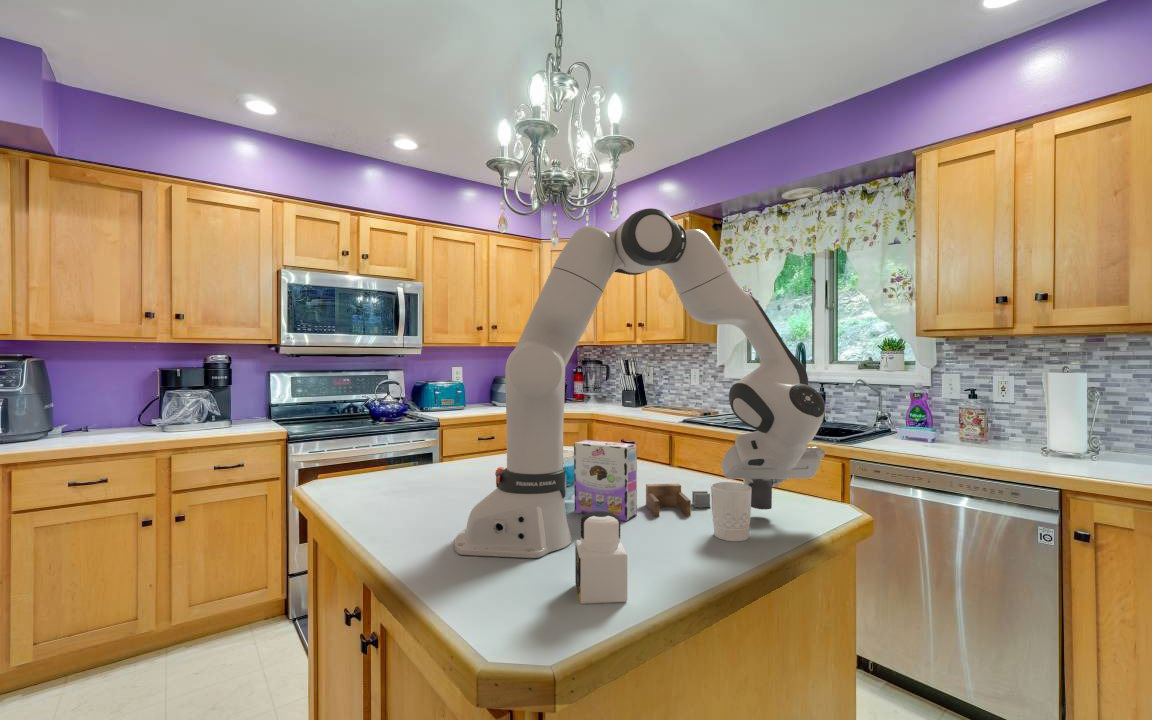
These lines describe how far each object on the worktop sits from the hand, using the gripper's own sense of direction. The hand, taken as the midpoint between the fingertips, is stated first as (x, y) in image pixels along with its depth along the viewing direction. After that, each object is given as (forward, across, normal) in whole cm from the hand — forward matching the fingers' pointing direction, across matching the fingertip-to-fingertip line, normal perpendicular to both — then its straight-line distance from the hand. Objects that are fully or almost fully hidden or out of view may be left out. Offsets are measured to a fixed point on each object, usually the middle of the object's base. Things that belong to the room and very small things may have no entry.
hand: (759, 484), depth 121 cm
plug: (+3, 0, +4) cm, 5 cm away
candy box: (+9, +34, +3) cm, 36 cm away
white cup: (-4, +11, +14) cm, 19 cm away
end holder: (+9, +20, +2) cm, 22 cm away
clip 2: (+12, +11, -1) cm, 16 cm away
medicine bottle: (-20, +40, +32) cm, 55 cm away
